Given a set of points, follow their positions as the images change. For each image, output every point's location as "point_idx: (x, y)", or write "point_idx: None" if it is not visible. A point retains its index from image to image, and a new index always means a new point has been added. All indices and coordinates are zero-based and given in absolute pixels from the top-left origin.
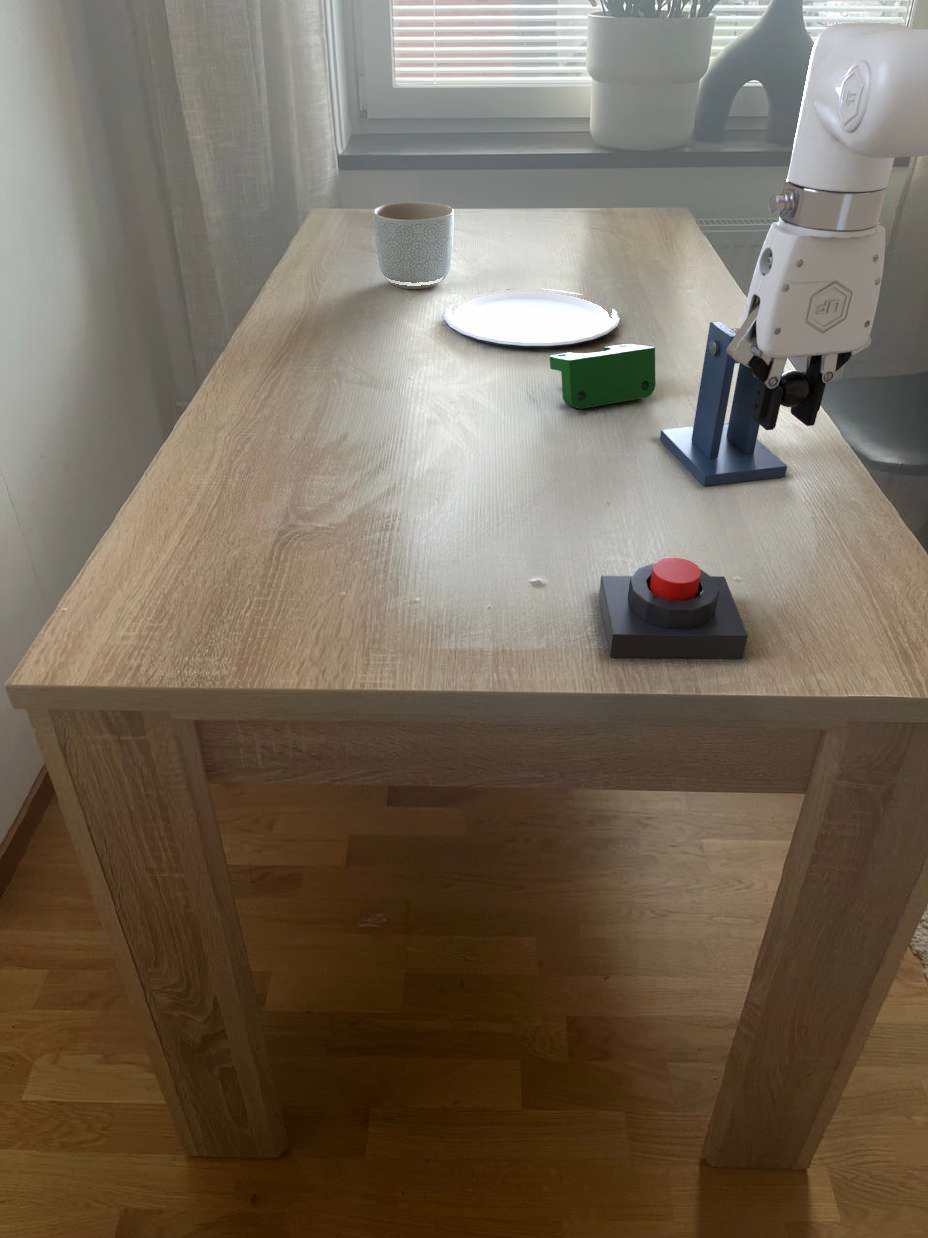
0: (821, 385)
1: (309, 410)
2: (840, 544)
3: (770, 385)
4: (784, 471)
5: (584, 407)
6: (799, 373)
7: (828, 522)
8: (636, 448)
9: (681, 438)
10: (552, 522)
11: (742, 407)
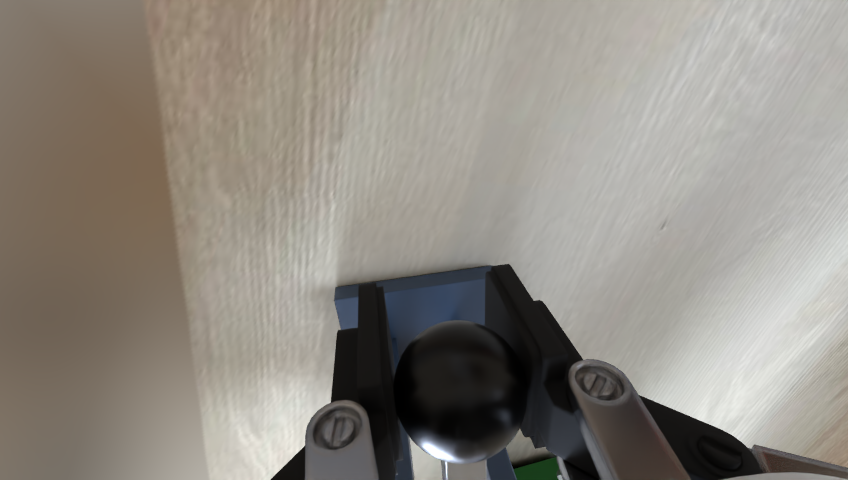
0: (370, 384)
1: (828, 442)
2: (319, 13)
3: (592, 372)
4: (339, 292)
5: (553, 458)
6: (467, 438)
7: (312, 114)
8: None
9: None
10: (774, 177)
11: None
